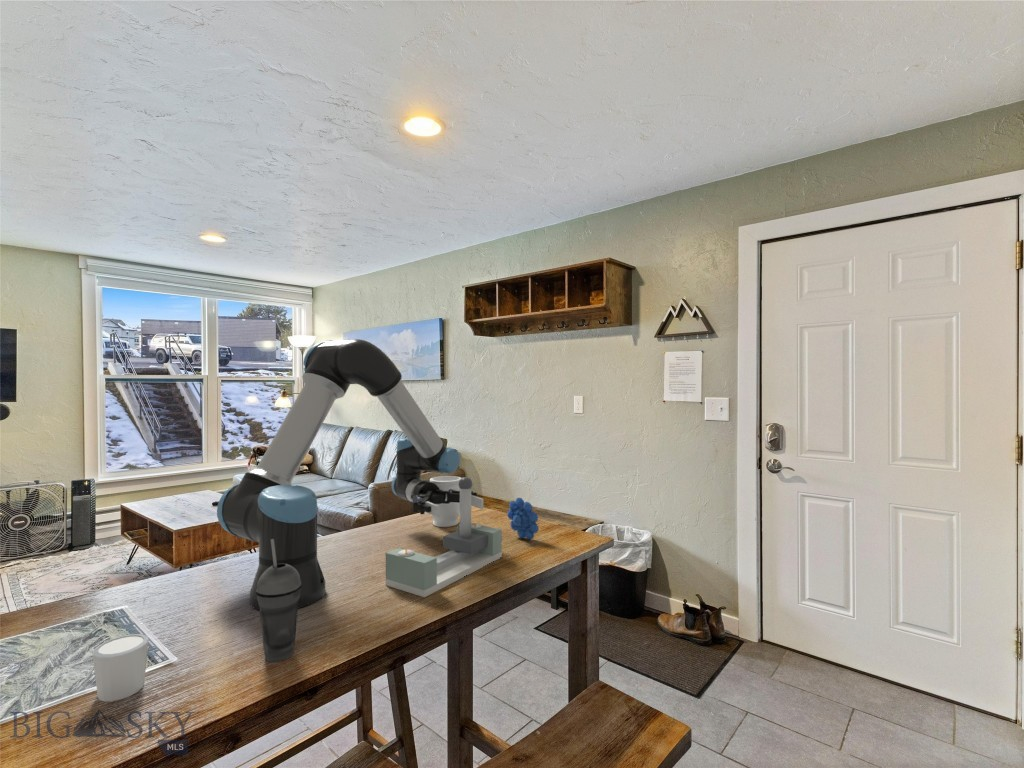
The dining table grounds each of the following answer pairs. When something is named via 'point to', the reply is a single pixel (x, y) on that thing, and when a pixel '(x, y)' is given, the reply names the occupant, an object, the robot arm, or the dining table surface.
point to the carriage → (465, 525)
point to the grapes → (523, 518)
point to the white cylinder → (120, 666)
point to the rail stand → (439, 564)
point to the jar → (446, 510)
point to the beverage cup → (278, 608)
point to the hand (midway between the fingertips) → (461, 507)
